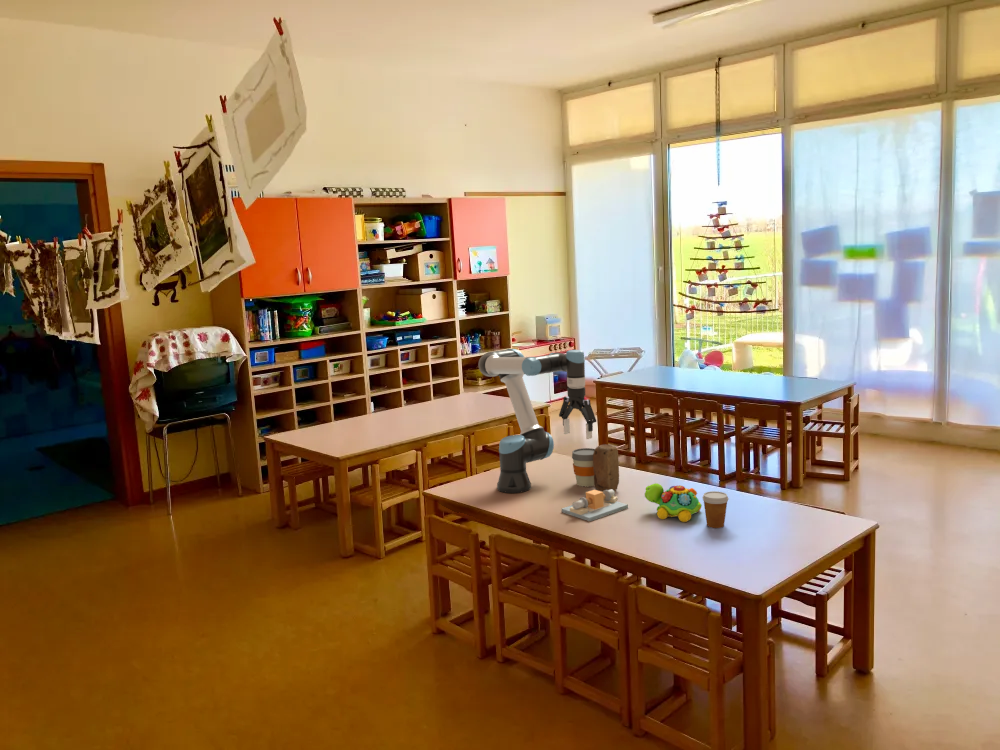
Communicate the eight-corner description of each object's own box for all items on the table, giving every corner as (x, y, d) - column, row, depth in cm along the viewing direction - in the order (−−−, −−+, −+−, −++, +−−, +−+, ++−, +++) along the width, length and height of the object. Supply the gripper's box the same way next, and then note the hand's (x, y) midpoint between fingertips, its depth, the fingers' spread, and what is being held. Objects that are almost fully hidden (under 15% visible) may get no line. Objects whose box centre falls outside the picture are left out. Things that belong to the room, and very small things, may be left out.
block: (621, 490, 347) (620, 446, 344) (609, 494, 343) (608, 449, 339) (603, 485, 356) (601, 442, 352) (591, 489, 351) (589, 445, 348)
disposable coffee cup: (716, 531, 294) (716, 500, 292) (697, 524, 302) (696, 494, 300) (734, 525, 299) (734, 495, 297) (714, 519, 307) (714, 489, 305)
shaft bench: (561, 512, 324) (561, 496, 322) (601, 498, 338) (601, 483, 337) (589, 521, 311) (589, 504, 310) (630, 507, 325) (629, 491, 324)
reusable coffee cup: (567, 482, 363) (566, 450, 360) (590, 478, 368) (589, 446, 366) (582, 489, 351) (581, 456, 349) (606, 484, 357) (605, 452, 355)
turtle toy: (652, 504, 328) (652, 476, 327) (708, 511, 316) (708, 483, 314) (637, 516, 314) (636, 488, 312) (694, 525, 302) (694, 495, 300)
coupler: (581, 507, 323) (581, 493, 322) (599, 502, 329) (598, 488, 328) (590, 510, 319) (590, 496, 318) (608, 504, 325) (607, 490, 324)
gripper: (549, 385, 342) (551, 433, 345) (590, 391, 322) (592, 442, 326) (562, 382, 346) (564, 430, 350) (603, 388, 327) (605, 439, 330)
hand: (577, 436), depth 338 cm, fingers open, 13 cm apart
